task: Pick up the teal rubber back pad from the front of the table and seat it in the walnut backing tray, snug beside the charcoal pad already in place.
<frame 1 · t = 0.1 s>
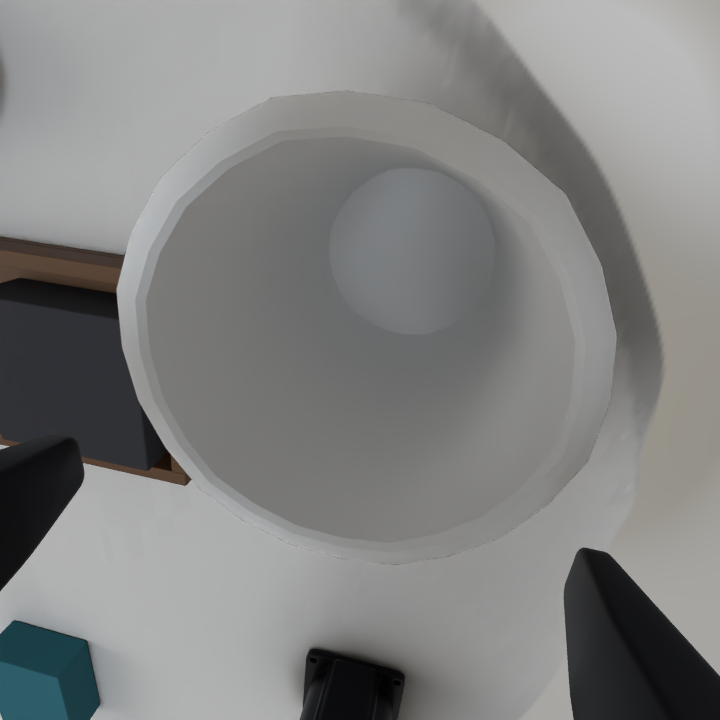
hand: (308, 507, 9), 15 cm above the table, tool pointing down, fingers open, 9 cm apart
cup: (414, 248, 21), on the table
teal pad: (58, 663, 40), on the table
backing tray: (35, 344, 27), on the table
charcoal pad: (102, 361, 26), resting on backing tray
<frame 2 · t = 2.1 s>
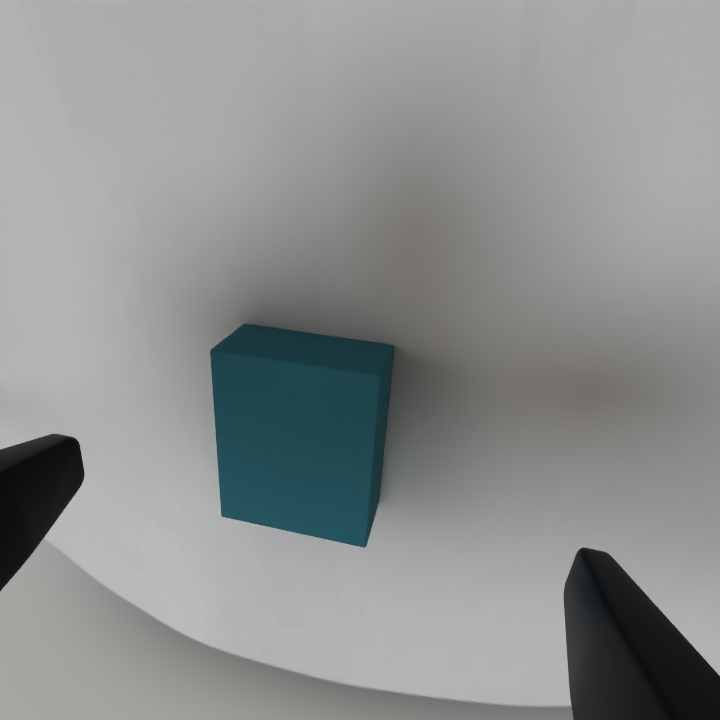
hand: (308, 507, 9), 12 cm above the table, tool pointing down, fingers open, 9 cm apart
teal pad: (314, 416, 22), on the table
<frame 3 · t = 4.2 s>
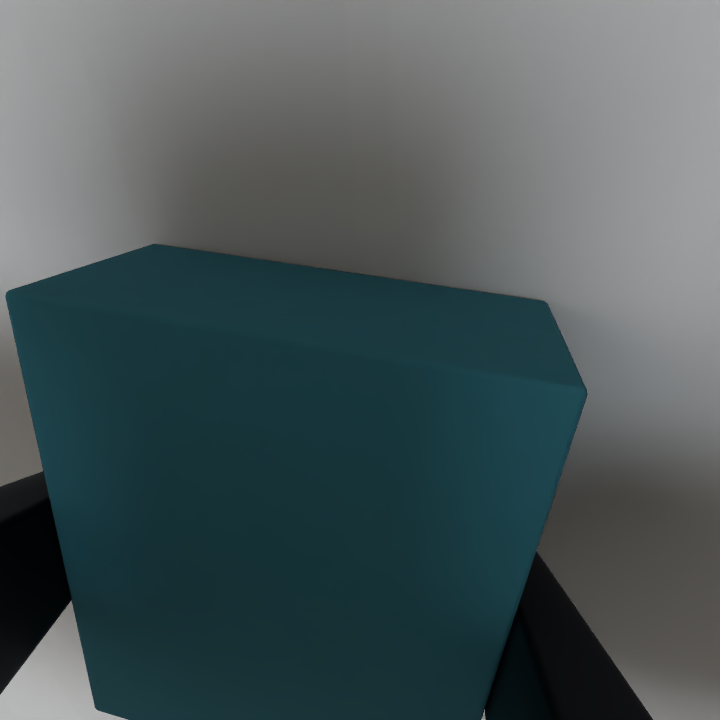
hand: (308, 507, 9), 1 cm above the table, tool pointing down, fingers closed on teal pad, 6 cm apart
teal pad: (323, 472, 10), on the table, touching gripper
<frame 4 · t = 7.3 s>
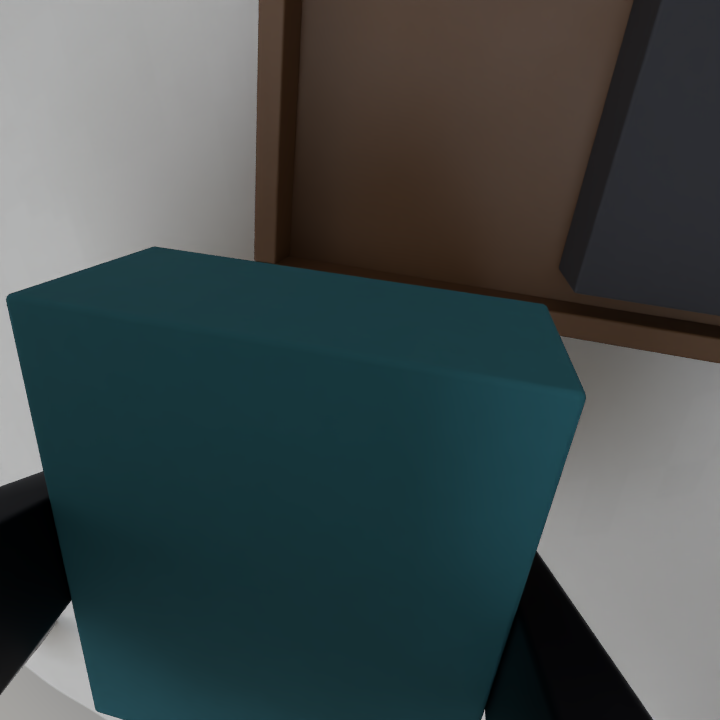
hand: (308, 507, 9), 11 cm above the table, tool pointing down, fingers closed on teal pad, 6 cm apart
teal pad: (322, 474, 10), point 10 cm above the table, touching gripper
backing tray: (580, 137, 15), on the table
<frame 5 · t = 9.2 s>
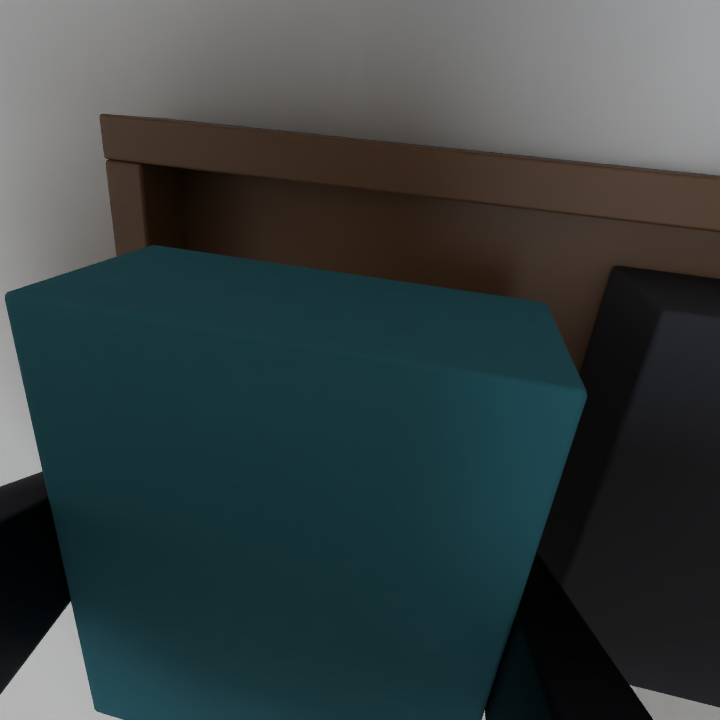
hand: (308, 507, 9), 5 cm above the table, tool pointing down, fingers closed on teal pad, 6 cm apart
teal pad: (322, 473, 10), point 4 cm above the table, touching gripper
backing tray: (544, 418, 12), on the table
when the fingers open (2 cm above the table, at t = 10.6 s): teal pad stays where it is, resting on backing tray.
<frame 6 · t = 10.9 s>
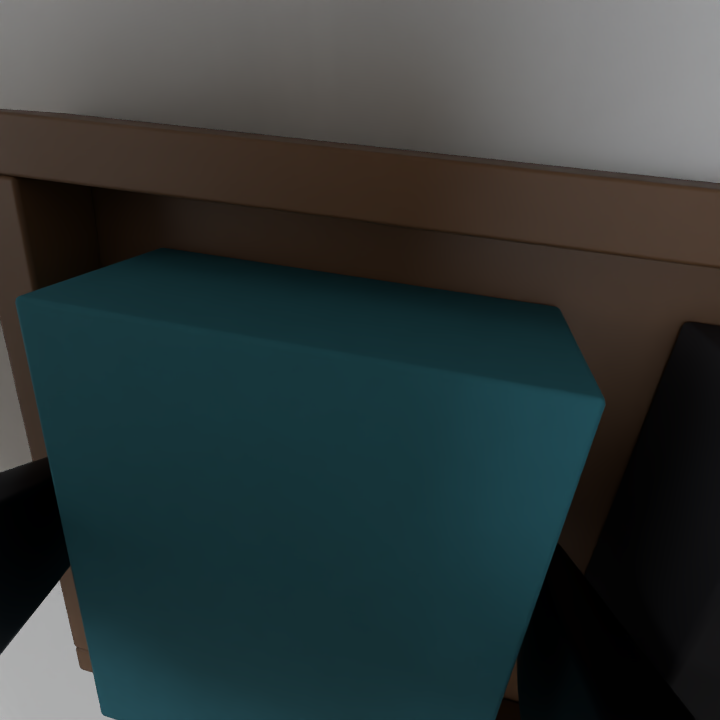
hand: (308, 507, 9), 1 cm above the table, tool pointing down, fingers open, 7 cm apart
teal pad: (330, 477, 10), resting on backing tray
backing tray: (576, 509, 9), on the table
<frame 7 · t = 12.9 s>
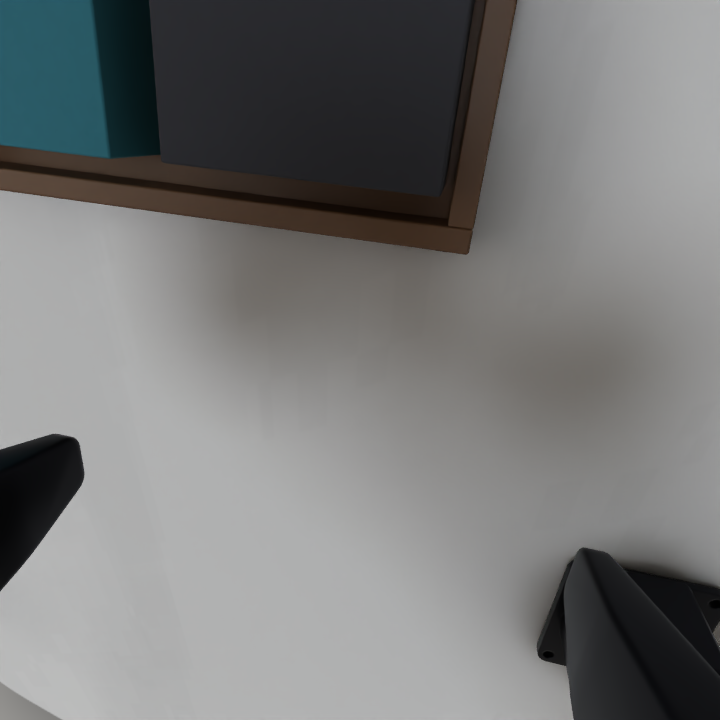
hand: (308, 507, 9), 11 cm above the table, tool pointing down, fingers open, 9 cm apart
teal pad: (64, 14, 16), resting on backing tray
backing tray: (200, 25, 16), on the table
charcoal pad: (330, 33, 15), resting on backing tray
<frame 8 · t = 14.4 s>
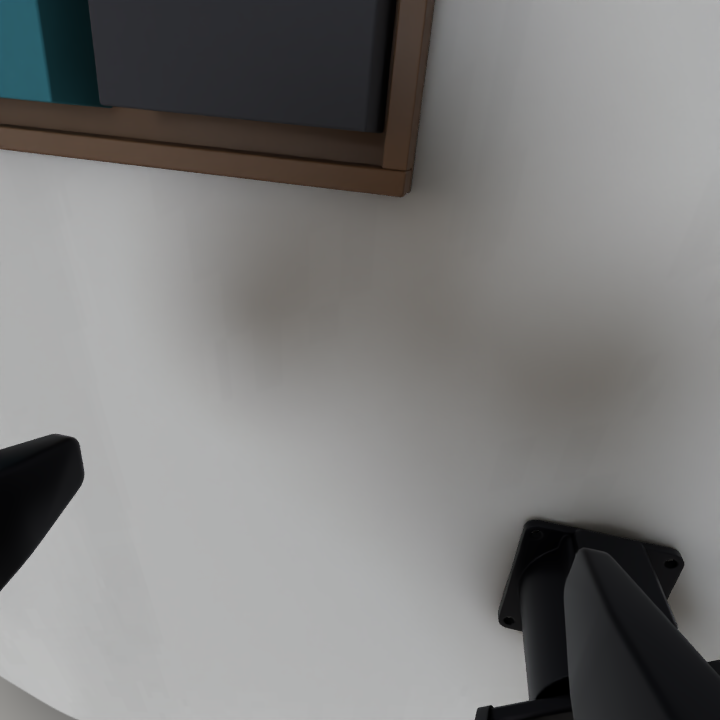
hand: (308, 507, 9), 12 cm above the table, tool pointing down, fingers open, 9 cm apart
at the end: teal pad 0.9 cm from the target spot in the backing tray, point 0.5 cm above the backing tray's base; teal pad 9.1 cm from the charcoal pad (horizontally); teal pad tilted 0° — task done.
